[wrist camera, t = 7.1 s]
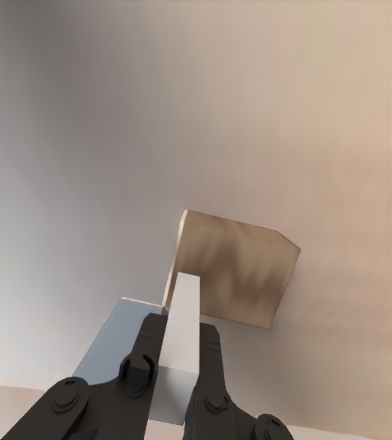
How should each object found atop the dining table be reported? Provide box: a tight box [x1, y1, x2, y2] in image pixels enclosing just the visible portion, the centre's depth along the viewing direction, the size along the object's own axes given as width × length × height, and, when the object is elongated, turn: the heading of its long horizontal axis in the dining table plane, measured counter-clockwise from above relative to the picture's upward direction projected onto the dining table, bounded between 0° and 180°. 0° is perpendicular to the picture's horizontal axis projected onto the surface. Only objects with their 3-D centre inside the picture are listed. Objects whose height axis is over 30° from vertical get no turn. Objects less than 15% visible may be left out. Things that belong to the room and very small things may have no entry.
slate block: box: [72, 297, 163, 385], centre depth 19 cm, size 8×5×10 cm, turn 167°
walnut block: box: [162, 209, 301, 329], centre depth 19 cm, size 8×5×10 cm
